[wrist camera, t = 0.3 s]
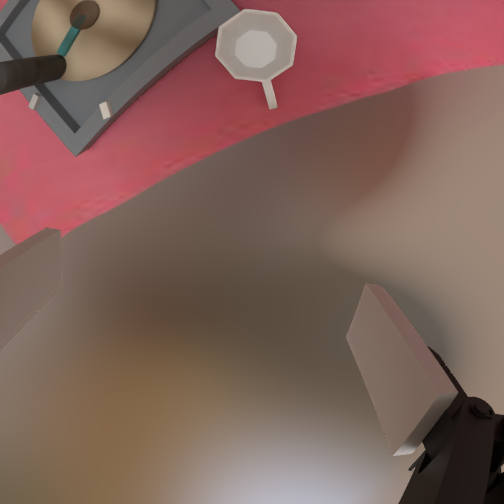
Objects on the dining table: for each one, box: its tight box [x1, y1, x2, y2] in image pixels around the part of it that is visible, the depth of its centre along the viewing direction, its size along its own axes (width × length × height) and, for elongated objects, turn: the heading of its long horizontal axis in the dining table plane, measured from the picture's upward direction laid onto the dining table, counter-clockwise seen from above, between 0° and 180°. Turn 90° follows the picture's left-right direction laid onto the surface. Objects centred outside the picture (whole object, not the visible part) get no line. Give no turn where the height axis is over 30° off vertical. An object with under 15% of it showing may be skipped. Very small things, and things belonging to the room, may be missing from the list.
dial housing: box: [0, 0, 241, 157], centre depth 23 cm, size 24×24×4 cm
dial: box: [0, 0, 157, 95], centre depth 18 cm, size 17×16×13 cm
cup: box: [215, 9, 297, 109], centre depth 26 cm, size 7×10×8 cm
